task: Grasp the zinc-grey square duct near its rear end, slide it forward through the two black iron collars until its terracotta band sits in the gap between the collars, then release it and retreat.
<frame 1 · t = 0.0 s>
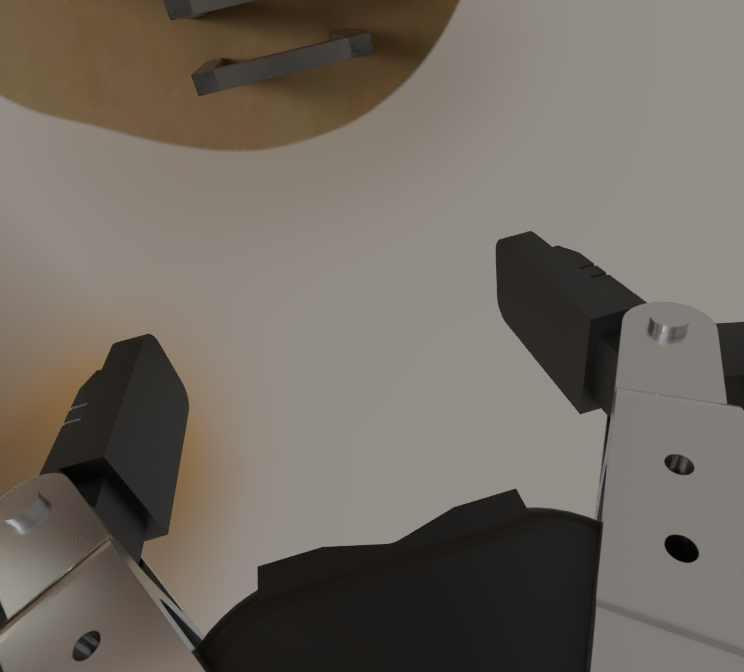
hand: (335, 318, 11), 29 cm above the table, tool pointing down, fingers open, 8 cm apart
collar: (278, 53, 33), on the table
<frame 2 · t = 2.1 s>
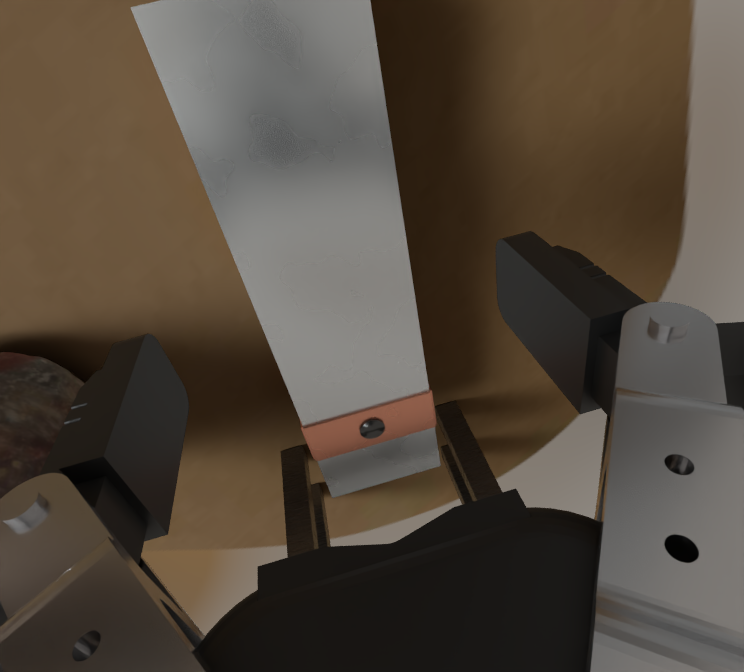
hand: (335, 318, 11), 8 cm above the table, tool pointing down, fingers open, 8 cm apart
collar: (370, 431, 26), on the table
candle: (26, 399, 20), on the table
duct: (323, 254, 19), on the table
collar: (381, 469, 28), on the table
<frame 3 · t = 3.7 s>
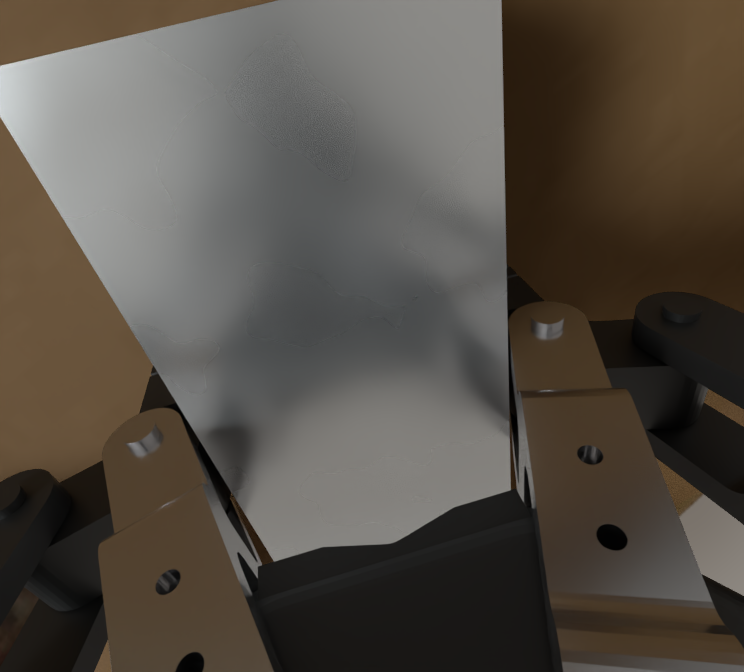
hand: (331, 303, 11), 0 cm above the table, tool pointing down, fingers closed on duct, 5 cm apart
duct: (354, 379, 14), on the table, touching gripper
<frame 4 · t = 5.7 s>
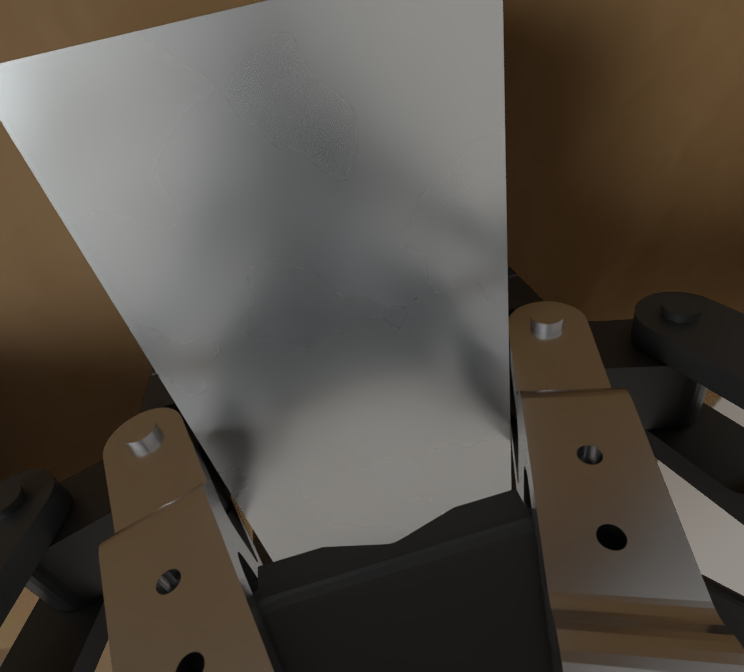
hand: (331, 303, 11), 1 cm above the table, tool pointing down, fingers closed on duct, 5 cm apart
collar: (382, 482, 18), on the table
duct: (354, 379, 14), point 1 cm above the table, touching gripper
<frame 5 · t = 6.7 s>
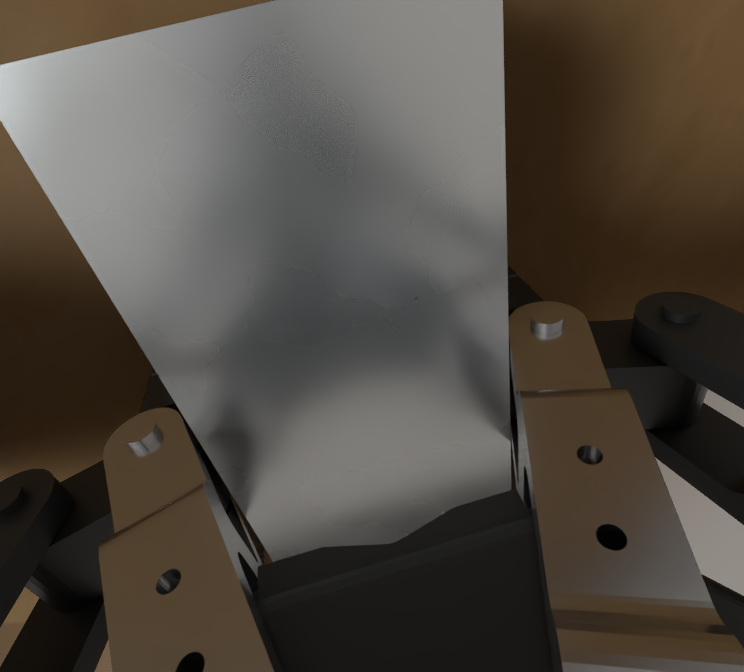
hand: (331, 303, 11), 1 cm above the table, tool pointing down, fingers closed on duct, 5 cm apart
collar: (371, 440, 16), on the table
duct: (354, 379, 14), point 1 cm above the table, touching gripper
when the fingers open (1 cm above the table, at t = 7.5 s): duct stays where it is, on the table.
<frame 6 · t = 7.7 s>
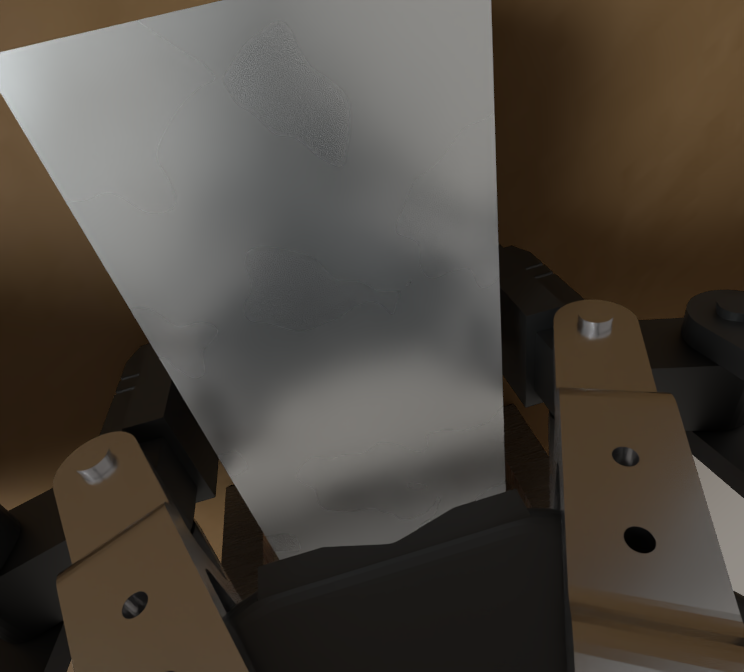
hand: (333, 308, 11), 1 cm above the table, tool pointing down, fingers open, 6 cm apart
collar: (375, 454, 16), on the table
duct: (352, 371, 14), on the table
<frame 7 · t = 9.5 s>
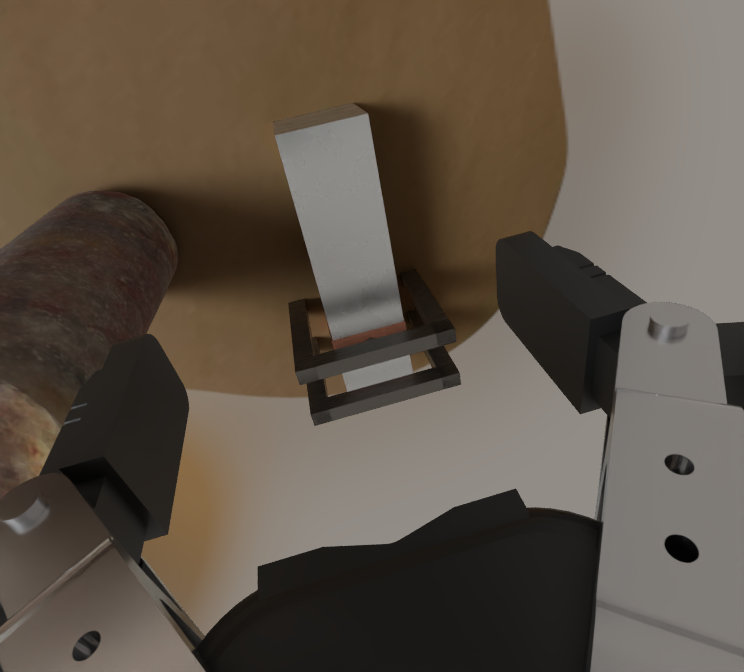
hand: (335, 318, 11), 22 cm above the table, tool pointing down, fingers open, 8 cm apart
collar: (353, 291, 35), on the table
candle: (118, 239, 30), on the table
duct: (344, 246, 34), on the table
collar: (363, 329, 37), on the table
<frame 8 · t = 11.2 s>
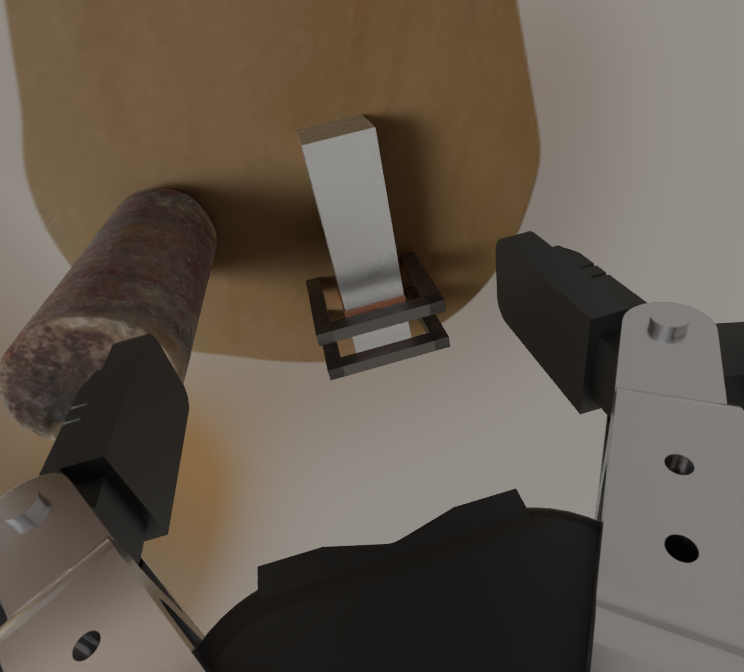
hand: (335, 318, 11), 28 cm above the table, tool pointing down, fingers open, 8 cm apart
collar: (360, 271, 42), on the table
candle: (168, 228, 37), on the table
duct: (353, 233, 40), on the table
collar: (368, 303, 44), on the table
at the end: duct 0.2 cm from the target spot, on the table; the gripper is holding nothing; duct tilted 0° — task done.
